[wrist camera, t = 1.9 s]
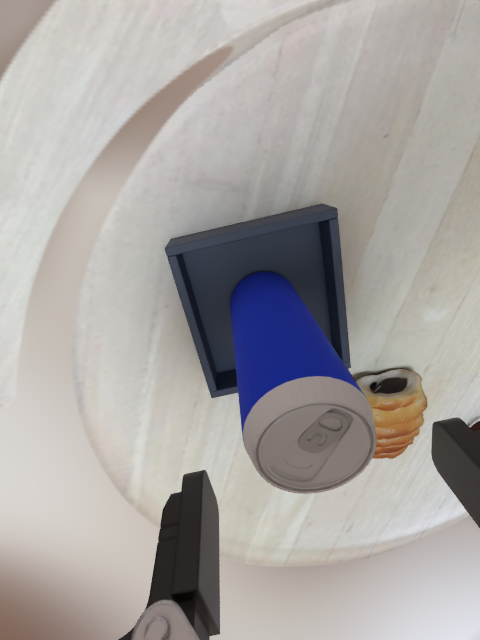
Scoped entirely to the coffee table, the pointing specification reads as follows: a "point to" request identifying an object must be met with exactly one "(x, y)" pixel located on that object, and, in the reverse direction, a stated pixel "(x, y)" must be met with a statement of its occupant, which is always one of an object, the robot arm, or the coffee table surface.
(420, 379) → the pastry
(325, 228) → the tray
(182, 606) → the robot arm
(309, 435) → the beverage can
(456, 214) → the coffee table surface
